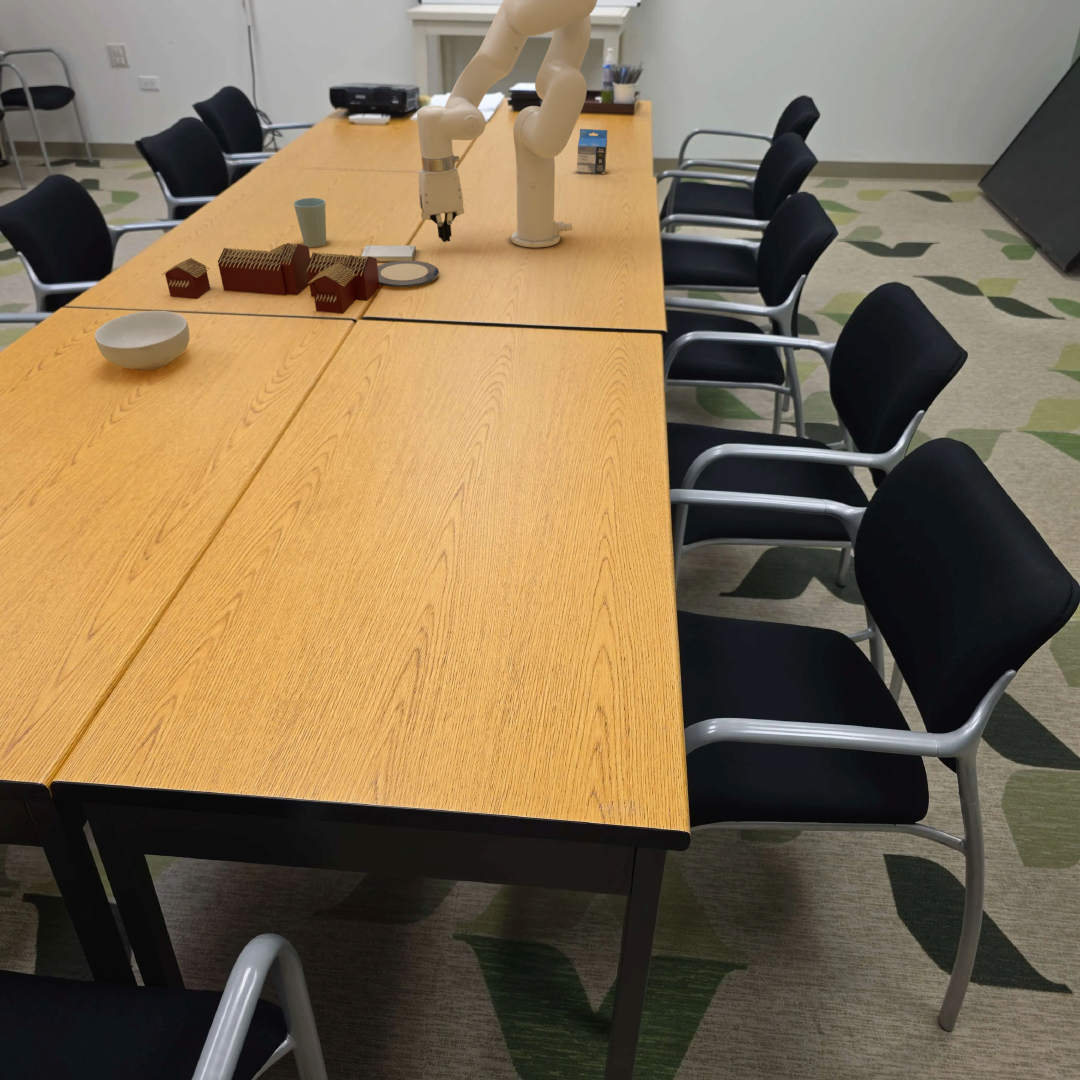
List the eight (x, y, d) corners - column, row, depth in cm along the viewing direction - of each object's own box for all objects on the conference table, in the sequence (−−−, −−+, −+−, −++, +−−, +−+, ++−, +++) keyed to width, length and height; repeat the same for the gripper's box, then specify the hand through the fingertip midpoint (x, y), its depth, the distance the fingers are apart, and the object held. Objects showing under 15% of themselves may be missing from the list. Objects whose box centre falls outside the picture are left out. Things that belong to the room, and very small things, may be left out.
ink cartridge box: (576, 173, 289) (577, 131, 281) (578, 170, 292) (579, 128, 285) (604, 174, 288) (606, 132, 280) (605, 171, 291) (607, 129, 283)
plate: (429, 262, 223) (429, 256, 222) (446, 285, 211) (446, 279, 210) (364, 270, 218) (363, 264, 217) (378, 293, 206) (377, 287, 205)
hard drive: (415, 244, 229) (365, 244, 228) (411, 255, 222) (360, 255, 222) (416, 251, 229) (366, 250, 229) (412, 262, 223) (361, 262, 223)
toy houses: (383, 283, 211) (379, 239, 205) (351, 317, 195) (345, 271, 189) (204, 269, 218) (194, 226, 212) (158, 301, 202) (147, 255, 196)
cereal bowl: (118, 344, 184) (109, 311, 179) (203, 342, 185) (195, 308, 181) (92, 383, 170) (81, 347, 166) (184, 379, 171) (175, 344, 167)
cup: (334, 246, 232) (328, 204, 226) (303, 250, 229) (297, 208, 223) (326, 237, 238) (321, 196, 231) (297, 241, 235) (290, 200, 229)
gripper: (463, 155, 223) (469, 231, 234) (403, 163, 219) (412, 240, 230) (472, 163, 217) (478, 240, 228) (411, 171, 213) (420, 249, 224)
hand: (445, 240), depth 229 cm, fingers closed
